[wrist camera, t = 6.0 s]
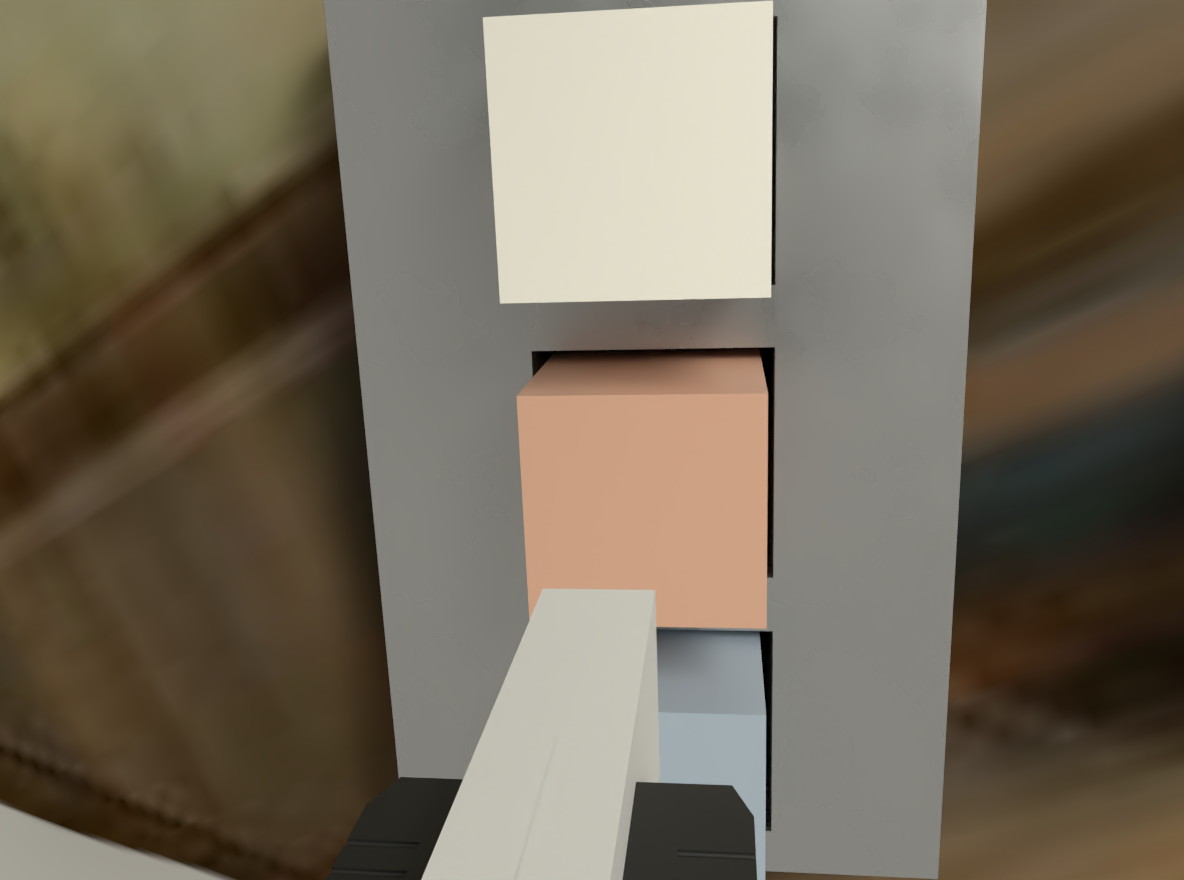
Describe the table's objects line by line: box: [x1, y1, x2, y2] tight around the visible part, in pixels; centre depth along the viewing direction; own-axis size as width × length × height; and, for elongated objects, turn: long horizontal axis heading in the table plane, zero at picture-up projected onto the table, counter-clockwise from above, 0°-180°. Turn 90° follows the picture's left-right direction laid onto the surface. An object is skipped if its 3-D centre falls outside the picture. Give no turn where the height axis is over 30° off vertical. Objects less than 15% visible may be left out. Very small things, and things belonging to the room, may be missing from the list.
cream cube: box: [483, 0, 773, 304], centre depth 21 cm, size 5×5×5 cm
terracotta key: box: [516, 349, 768, 629], centre depth 24 cm, size 5×5×5 cm
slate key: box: [656, 629, 766, 880], centre depth 25 cm, size 5×5×5 cm
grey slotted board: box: [324, 0, 987, 879], centre depth 26 cm, size 22×14×3 cm, turn 2°
